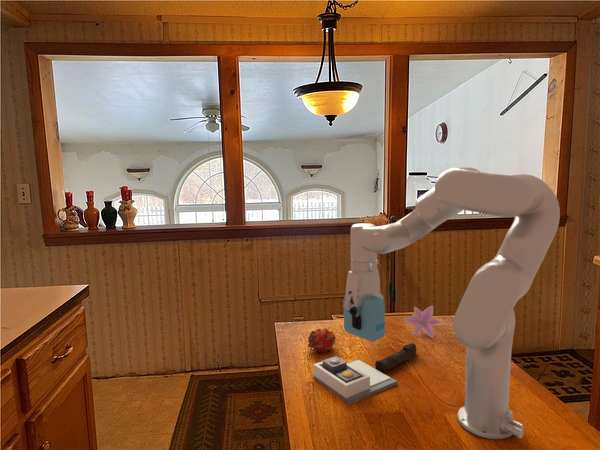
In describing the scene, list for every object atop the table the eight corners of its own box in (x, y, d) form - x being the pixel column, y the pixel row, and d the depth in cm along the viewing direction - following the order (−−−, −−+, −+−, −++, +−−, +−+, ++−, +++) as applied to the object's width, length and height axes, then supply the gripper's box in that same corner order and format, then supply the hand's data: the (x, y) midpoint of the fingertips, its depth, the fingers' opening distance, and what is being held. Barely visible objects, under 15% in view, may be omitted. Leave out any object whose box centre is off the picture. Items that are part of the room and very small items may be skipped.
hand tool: (384, 376, 122) (384, 361, 121) (374, 371, 125) (374, 357, 124) (423, 358, 133) (423, 344, 133) (412, 353, 136) (413, 340, 136)
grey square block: (346, 372, 119) (346, 361, 118) (333, 376, 116) (332, 366, 115) (336, 365, 123) (335, 355, 122) (322, 370, 120) (322, 359, 120)
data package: (385, 338, 117) (385, 298, 116) (375, 343, 114) (375, 302, 113) (353, 327, 126) (353, 290, 125) (343, 331, 123) (343, 293, 122)
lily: (399, 333, 156) (402, 316, 150) (415, 314, 163) (418, 298, 157) (428, 350, 149) (431, 333, 144) (443, 329, 156) (447, 313, 150)
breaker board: (397, 384, 117) (397, 369, 116) (349, 404, 107) (349, 388, 107) (357, 362, 131) (357, 348, 130) (313, 377, 122) (312, 363, 121)
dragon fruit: (306, 359, 137) (331, 354, 144) (320, 351, 131) (347, 346, 139) (298, 335, 141) (324, 331, 148) (312, 326, 135) (338, 322, 143)
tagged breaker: (360, 385, 114) (360, 374, 113) (346, 391, 111) (346, 379, 111) (348, 378, 118) (348, 367, 117) (335, 383, 115) (335, 372, 115)
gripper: (376, 259, 125) (376, 316, 128) (332, 268, 116) (333, 328, 118) (394, 264, 119) (394, 323, 121) (349, 273, 110) (349, 337, 112)
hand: (363, 325), depth 120 cm, fingers closed on data package, 5 cm apart
